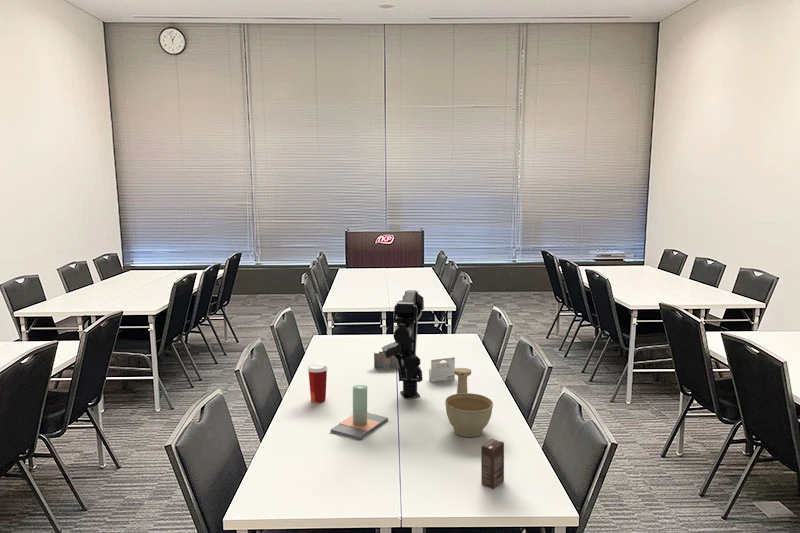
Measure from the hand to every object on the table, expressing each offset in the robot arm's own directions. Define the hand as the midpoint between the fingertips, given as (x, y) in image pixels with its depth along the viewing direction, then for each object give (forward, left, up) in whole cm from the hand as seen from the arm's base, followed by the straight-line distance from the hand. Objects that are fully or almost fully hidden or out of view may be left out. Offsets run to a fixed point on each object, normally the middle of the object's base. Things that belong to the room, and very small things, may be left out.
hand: (405, 376), depth 218 cm
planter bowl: (+23, +16, -13) cm, 31 cm away
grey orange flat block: (+9, -19, -13) cm, 25 cm away
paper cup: (-18, -30, -13) cm, 37 cm away
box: (+56, +10, -13) cm, 58 cm away
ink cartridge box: (-27, +24, -13) cm, 39 cm away
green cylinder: (+9, -19, -12) cm, 24 cm away
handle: (+4, +21, -13) cm, 25 cm away
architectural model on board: (-48, +5, -14) cm, 50 cm away
